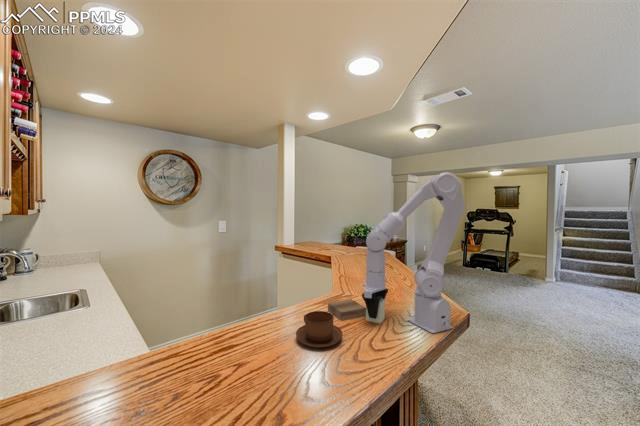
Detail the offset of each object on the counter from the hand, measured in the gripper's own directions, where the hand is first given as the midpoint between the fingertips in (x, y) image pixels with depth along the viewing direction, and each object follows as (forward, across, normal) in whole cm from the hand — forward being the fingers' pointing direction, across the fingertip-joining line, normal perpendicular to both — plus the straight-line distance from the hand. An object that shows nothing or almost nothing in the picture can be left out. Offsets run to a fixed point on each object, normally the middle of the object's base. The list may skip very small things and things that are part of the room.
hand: (375, 314), depth 81 cm
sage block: (+1, 0, 0) cm, 1 cm away
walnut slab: (+2, 0, -10) cm, 10 cm away
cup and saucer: (+2, +19, -9) cm, 21 cm away
